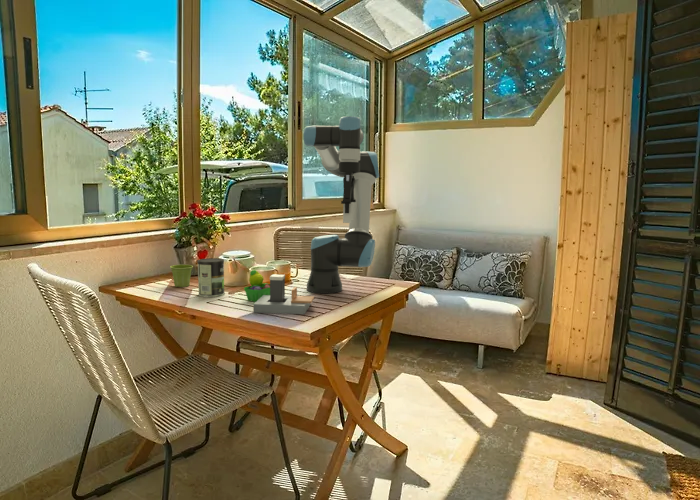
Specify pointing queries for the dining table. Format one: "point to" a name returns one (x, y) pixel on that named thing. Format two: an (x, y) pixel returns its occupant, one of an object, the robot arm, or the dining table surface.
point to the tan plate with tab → (300, 297)
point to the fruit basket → (256, 287)
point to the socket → (279, 306)
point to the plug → (277, 288)
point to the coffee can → (211, 277)
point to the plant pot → (181, 275)
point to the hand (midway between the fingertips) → (348, 221)
